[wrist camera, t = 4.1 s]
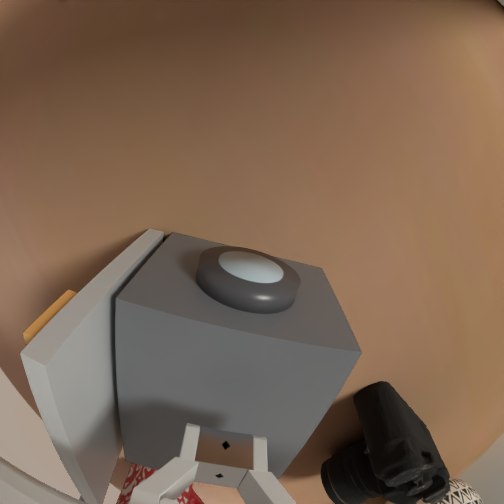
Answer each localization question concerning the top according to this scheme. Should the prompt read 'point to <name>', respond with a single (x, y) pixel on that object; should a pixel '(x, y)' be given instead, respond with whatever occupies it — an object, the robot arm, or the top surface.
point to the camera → (387, 455)
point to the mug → (138, 474)
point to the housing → (227, 350)
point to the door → (84, 371)
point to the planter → (456, 494)
